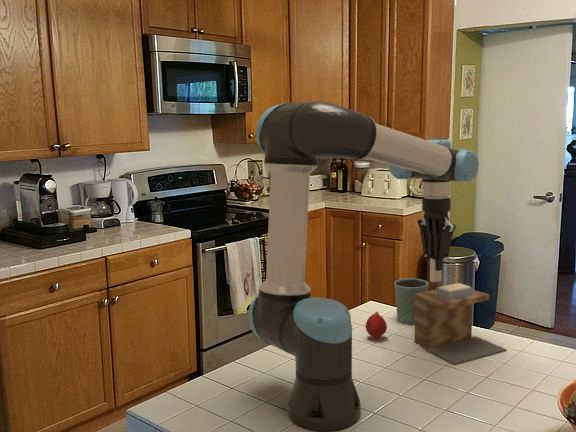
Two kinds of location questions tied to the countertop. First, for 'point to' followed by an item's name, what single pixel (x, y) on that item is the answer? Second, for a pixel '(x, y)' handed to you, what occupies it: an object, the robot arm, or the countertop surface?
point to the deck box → (454, 291)
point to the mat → (465, 350)
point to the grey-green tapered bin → (408, 298)
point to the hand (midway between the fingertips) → (435, 281)
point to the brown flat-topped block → (443, 318)
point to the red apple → (376, 325)
